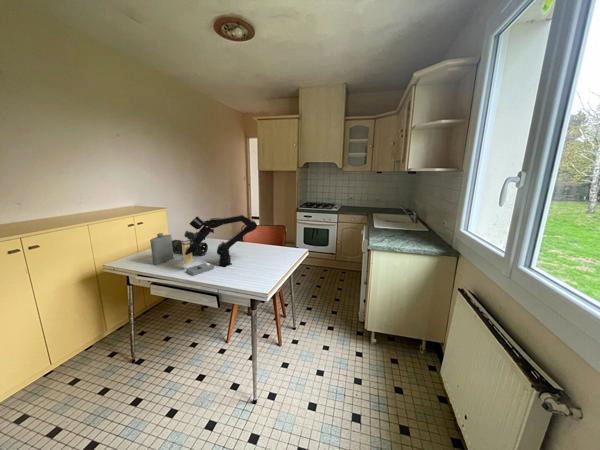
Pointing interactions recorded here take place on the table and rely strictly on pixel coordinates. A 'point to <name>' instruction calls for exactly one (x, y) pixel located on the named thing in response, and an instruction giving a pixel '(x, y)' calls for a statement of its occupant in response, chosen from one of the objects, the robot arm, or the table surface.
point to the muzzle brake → (178, 248)
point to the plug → (186, 258)
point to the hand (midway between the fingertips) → (184, 253)
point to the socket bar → (200, 268)
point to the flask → (161, 248)
